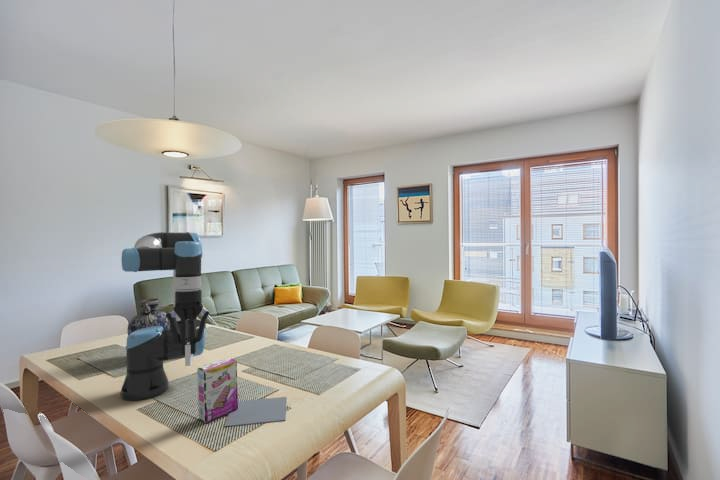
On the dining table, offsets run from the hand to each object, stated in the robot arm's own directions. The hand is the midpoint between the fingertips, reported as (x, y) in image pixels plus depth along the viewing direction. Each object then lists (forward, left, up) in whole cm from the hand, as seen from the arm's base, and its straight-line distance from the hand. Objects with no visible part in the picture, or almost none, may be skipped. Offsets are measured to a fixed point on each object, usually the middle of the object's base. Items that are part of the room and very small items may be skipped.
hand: (189, 364), depth 108 cm
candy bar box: (+9, 0, -17) cm, 19 cm away
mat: (+21, 0, -17) cm, 27 cm away
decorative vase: (-36, +66, -17) cm, 77 cm away
